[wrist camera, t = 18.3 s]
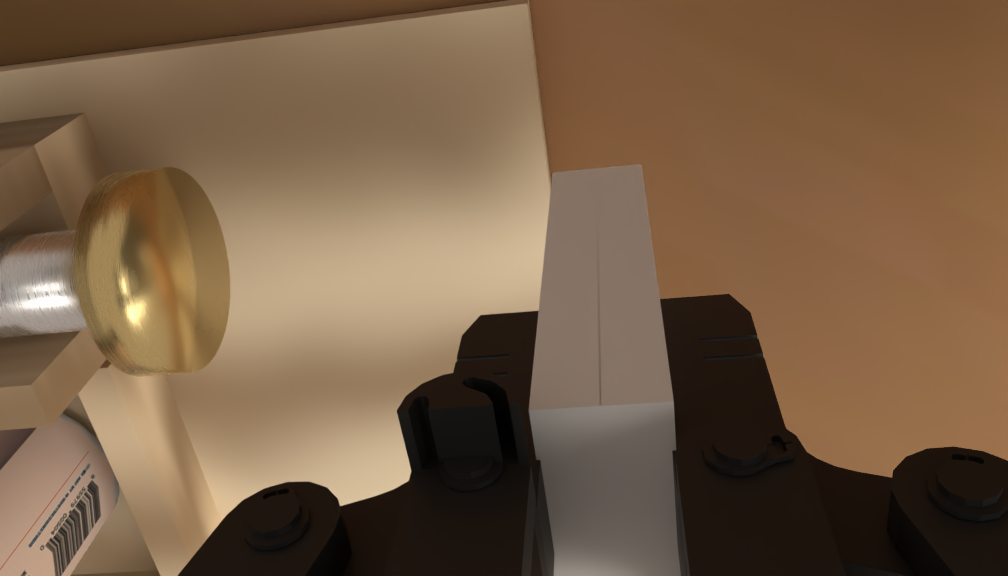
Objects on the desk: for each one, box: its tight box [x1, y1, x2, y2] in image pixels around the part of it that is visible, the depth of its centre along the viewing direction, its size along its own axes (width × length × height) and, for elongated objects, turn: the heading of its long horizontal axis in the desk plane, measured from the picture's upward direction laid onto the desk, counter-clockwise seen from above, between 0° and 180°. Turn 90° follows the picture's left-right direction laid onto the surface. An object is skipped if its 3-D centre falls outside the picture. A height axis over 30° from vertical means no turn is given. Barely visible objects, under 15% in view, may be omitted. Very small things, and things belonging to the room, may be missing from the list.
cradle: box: [0, 0, 551, 576], centre depth 21 cm, size 16×21×6 cm
